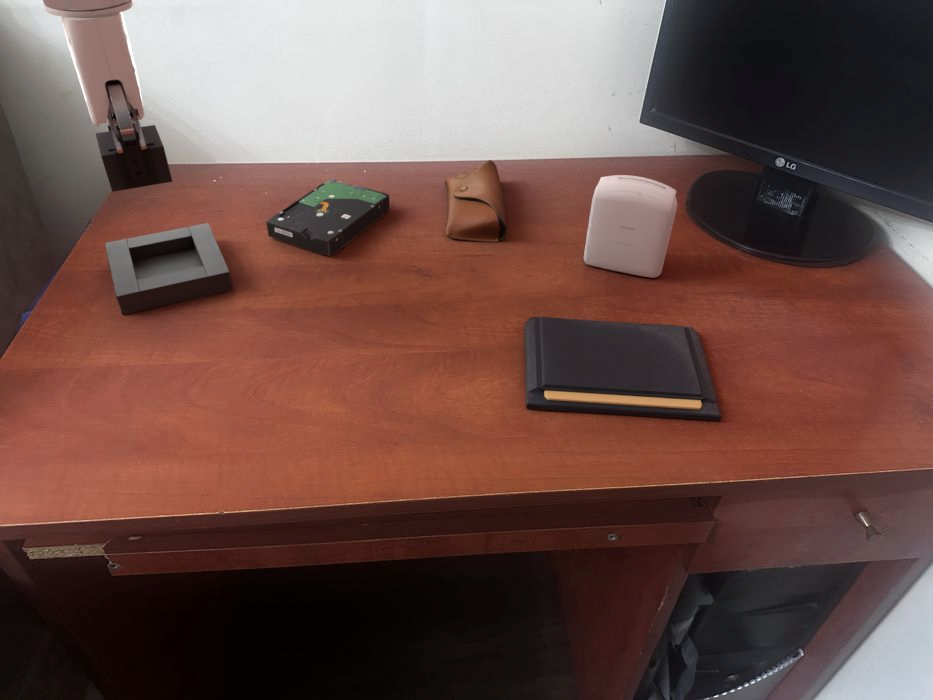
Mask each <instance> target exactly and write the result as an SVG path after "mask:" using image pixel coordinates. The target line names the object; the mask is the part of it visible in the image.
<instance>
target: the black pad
mask: <svg viewBox="0 0 933 700" xmlns="http://www.w3.org/2000/svg"><path fill="white" fill-rule="evenodd" d="M134 130H136V129H135V128H134ZM141 130H142V133H143V137H144V140H145V144H146V146H148V147H149V150H150V154H151V157H152V161H153V165H154V169H155V172H156V176H157V180H158V182H157V183H156V184H153V185H152V186H155V185H162V184H167V183H172V182H173V178H172V175H171V170H170V166H169V162H168V158H167V154H166V149H165V147H164V143H163V142H162V139H161V136H160V133H159V131H158V129H157V127H156V124H153V125H152V124H151V125H145V126H141ZM117 132H120V130H117ZM95 137H96V141H97V146H98V149H99V153H100V157H101V161H102V164H103V167H104V171H105V173H106V176H107V180H108V183H109V186H110V189H111V192H112V193H115V192H119V191H126V190H132V189H133V188H127V187H126V186H125V184H124V181H123V177H122V174H121V171H120V167H119V164H118V161H117V157H116V154H115V150H117V148H116V145H115V141H114V138H113V135H112V131H109V130H108V131H103V132H102V131H101V132H96V133H95ZM121 146H122V144H121ZM149 186H151V185H147V186H146V187H149ZM143 187H145V186H141V187H140V188H143ZM136 188H137V189H138V188H139V187H135V188H134V189H136Z"/></svg>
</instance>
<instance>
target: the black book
mask: <svg viewBox="0 0 933 700" xmlns="http://www.w3.org/2000/svg"><path fill="white" fill-rule="evenodd" d="M523 336H524V337H523V339H524V357H525V360H524V361H525V377H524V379H525V383H524V384H525V409H528V410H537V411H538V410H539V411H549V412H551V411H552V412H576V413H591V414H604V415H606V414H607V415H620V416H621V415H622V416H634V417H653V418H665V419H666V418H668V419H681V420H683V419H684V420H697V421H710V422H711V421H713V422H721V420H722V418H723V416H722V413H721V409H720V407H719V401H718V396H717V391H716V389H715V385H714V381H713V377H712V375H711V374H712V373H711V370H710V367H709V364H708V363H709V362H708V360H707V357H706V353H705V349H704V346H703V343H702V340H701V337H700V334H699V332H698V331H697V330H696V329H694V327H692V326H685V325H676V324H675V325H674V324H658V323H657V324H656V323H639V322H623V321H622V322H621V321H609V320H608V321H607V320H590V319H579V318H578V319H577V318H562V317H550V316H531V317H530V318H528V319H527V320H526V321H525V323H524V335H523Z"/></svg>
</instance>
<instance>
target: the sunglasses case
mask: <svg viewBox="0 0 933 700" xmlns="http://www.w3.org/2000/svg"><path fill="white" fill-rule="evenodd" d="M444 182H445V187H446V192H447V220H446V221H447V222H446V230H445V236H446V237H448V238H450V239H454V240H458V241H459V240H460V241H465V242H480V243H483V242H484V243H498V242H500V241H503V239H504V238H505V237H506V236H507V233H508V226H507V217H506V211H505V209H506V208H505V204H504V197H503V190H502V184H501V179H500V174H499V171H498V167H497V165H496V162H494V161H493V160H491V159H488V160H487V161H485V163H483V164H482V165H480V166H477V167H475V168H472V169H470V170H468V171H464V172H462V173H459V174H457V175H455V176H452V177H450V178H446V179H445V180H444Z"/></svg>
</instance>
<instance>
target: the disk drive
mask: <svg viewBox="0 0 933 700" xmlns="http://www.w3.org/2000/svg"><path fill="white" fill-rule="evenodd" d="M390 203H391V201H390V194H389V193H386V192H382V191H380V190H379V191H378V190H376V189H371V188H367V187H365V186H362V185H358V186H356V185H353V184H350V183H346V182H342V181H337V179H335V178H332V179H331V180H327V181H326V182H322V183H321V184H319V185H317V186H316V187H315V188H313V189H311V190H310V191H309V192H307V193H306V194H304V195H302V197H300V198H298V199H297V200H295V201H294V202H292V203H291V204H290V205H288V206H286V207H285V208H284V209H281V210H280V211H279V212H277V213H275V214H273V215H272V216H271V217H269V219H267V220H266V221H265V223H266V224H265V225H266V230H267V235H268V237H271V238H273V239H276V240H278V241H280V242H283V243H286V244H290V245H291V246H295V247H298V248H302V249H304V250H307V251H310V252H314V253H317V254H320V255H325V256H328V257H332V255H335V254H336V253H338V252H339V251H340V250H341V249H342V248H344V247H345V246H347V245H348V244H349V243H350V242H351V241H353V240H354V239H355V238H356V237H357V236H359V235H360V234H361V233H363V232H364V231H365V230H367V229H368V228H369V227H370V226H371V225H373V224H374V223H375V222H376V221H378V220H379V219H381V217H382V216H384V215H385V214H387V212H388V211H389V210H390V209H391V208H390V207H391V206H390Z"/></svg>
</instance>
